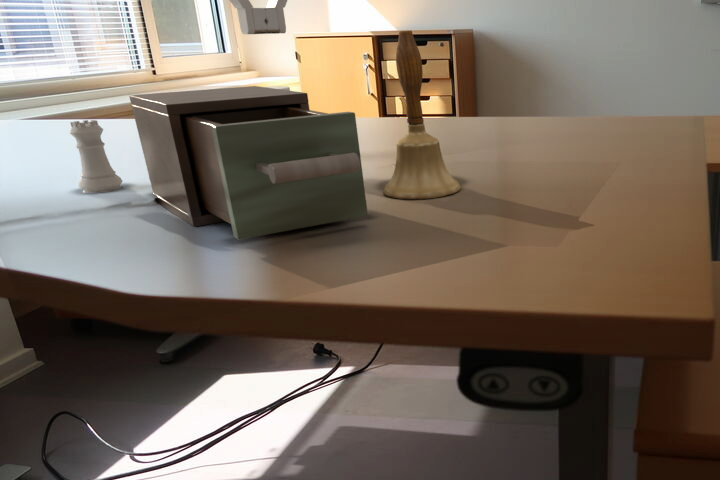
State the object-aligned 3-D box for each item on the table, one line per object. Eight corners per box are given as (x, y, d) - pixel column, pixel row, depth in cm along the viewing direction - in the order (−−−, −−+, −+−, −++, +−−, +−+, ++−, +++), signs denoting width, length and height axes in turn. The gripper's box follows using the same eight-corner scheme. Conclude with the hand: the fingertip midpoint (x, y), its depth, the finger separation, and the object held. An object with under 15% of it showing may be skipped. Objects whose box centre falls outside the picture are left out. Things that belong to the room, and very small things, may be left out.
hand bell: (445, 200, 76) (431, 30, 69) (370, 198, 78) (350, 32, 71) (470, 183, 83) (460, 28, 76) (402, 182, 85) (386, 30, 78)
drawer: (393, 225, 63) (381, 116, 59) (258, 252, 57) (235, 132, 53) (309, 193, 76) (294, 102, 73) (192, 212, 70) (169, 113, 66)
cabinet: (324, 204, 76) (307, 93, 71) (193, 227, 68) (165, 104, 64) (272, 184, 86) (255, 85, 82) (155, 201, 79) (128, 95, 75)
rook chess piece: (73, 197, 82) (51, 123, 79) (113, 190, 85) (94, 118, 82) (94, 202, 80) (72, 125, 76) (134, 194, 83) (115, 120, 80)
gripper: (350, -160, 59) (370, 30, 64) (53, -199, 47) (110, 37, 53) (387, -176, 54) (405, 30, 60) (69, -223, 43) (128, 38, 49)
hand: (264, 34), depth 56 cm, fingers closed
